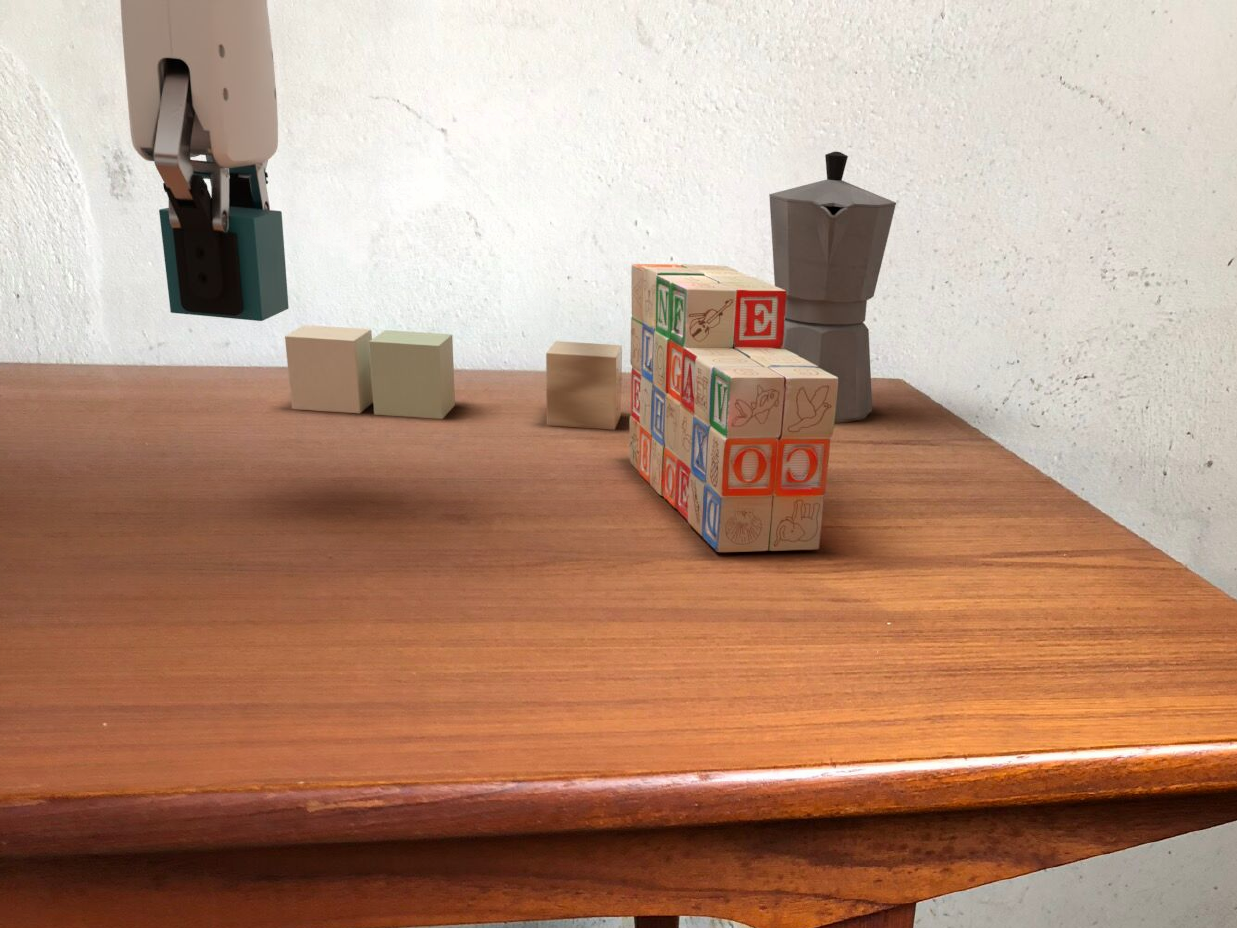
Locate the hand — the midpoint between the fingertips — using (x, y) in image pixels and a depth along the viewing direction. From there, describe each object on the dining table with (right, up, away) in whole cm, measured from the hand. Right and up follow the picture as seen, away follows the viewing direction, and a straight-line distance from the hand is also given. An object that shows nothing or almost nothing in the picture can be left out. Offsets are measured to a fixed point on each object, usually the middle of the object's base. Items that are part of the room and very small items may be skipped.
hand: (230, 302), depth 77 cm
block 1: (-1, +4, +26) cm, 26 cm away
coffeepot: (+35, +7, +35) cm, 50 cm away
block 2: (+5, +4, +26) cm, 27 cm away
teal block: (0, 0, 0) cm, 0 cm away
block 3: (+17, +3, +26) cm, 31 cm away
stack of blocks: (+27, -9, +8) cm, 30 cm away
